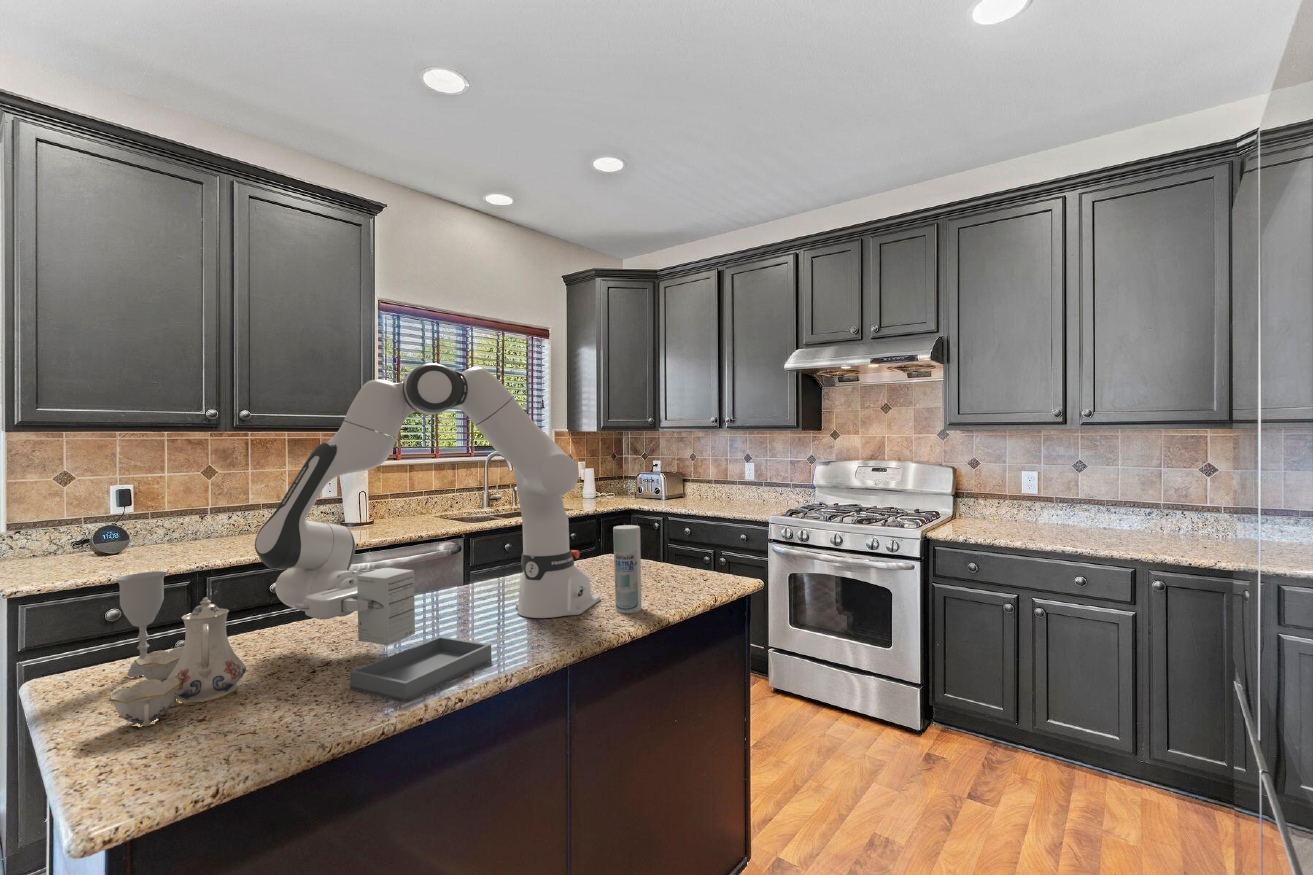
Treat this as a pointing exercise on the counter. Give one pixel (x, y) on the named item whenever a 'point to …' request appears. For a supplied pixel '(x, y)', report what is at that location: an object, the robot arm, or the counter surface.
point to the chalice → (141, 606)
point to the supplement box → (386, 605)
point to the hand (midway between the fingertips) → (389, 599)
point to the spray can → (627, 568)
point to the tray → (419, 668)
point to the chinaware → (184, 669)
